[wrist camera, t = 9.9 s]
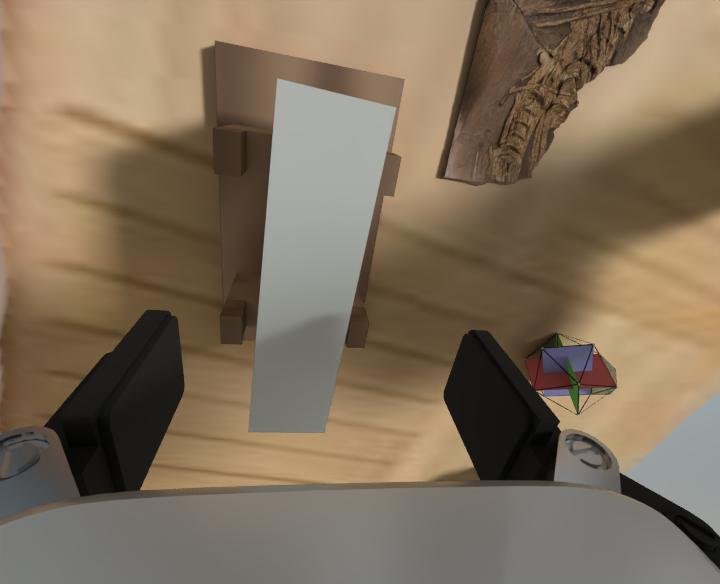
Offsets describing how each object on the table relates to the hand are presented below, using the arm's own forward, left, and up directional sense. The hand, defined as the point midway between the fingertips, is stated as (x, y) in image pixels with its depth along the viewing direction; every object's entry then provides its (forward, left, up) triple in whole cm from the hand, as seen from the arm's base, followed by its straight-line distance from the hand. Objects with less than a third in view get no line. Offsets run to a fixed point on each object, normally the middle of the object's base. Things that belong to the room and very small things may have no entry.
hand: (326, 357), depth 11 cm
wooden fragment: (-15, -16, -17) cm, 27 cm away
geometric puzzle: (-25, +11, -16) cm, 32 cm away
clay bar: (+1, 0, -11) cm, 11 cm away
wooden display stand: (+1, 0, -16) cm, 16 cm away
